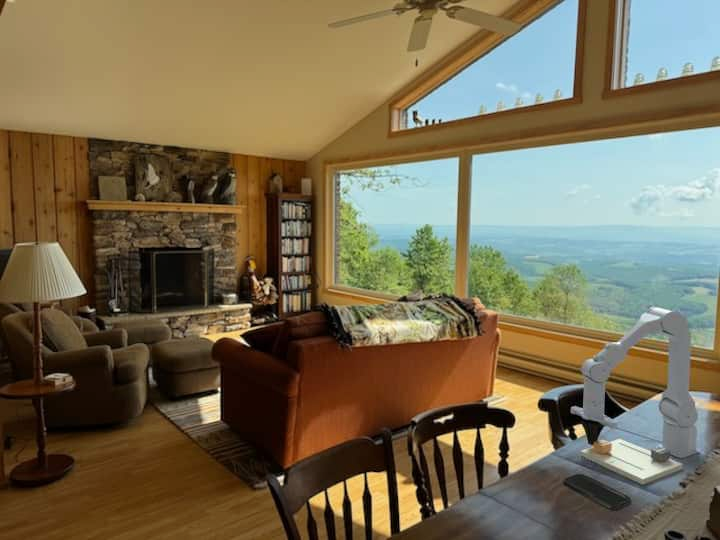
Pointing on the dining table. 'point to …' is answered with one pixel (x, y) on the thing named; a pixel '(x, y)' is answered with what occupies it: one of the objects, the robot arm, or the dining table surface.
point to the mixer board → (632, 462)
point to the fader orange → (602, 446)
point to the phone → (597, 491)
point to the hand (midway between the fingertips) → (592, 443)
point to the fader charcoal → (660, 454)
